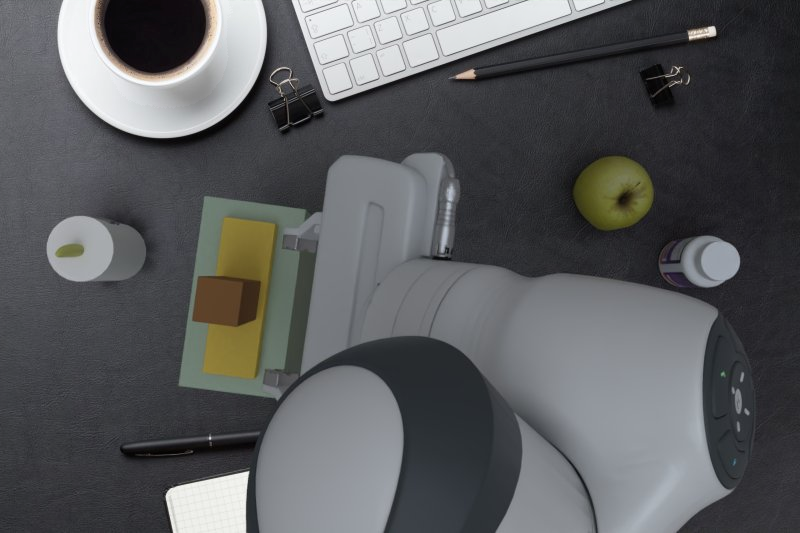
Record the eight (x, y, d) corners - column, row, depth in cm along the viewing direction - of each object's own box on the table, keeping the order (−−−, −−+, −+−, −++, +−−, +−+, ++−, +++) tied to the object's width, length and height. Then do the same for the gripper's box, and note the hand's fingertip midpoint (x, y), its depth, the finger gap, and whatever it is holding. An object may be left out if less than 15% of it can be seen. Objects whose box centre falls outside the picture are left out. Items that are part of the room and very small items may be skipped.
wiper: (257, 376, 59) (235, 396, 50) (206, 370, 59) (174, 388, 50) (278, 224, 60) (260, 215, 50) (227, 217, 59) (199, 206, 50)
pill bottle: (710, 279, 85) (754, 279, 75) (665, 292, 85) (702, 294, 75) (696, 232, 85) (738, 227, 75) (651, 246, 85) (687, 242, 75)
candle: (155, 233, 83) (107, 224, 68) (133, 289, 83) (80, 292, 68) (101, 212, 83) (41, 198, 68) (79, 268, 83) (14, 267, 68)
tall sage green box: (306, 363, 83) (280, 399, 59) (233, 354, 83) (178, 386, 59) (324, 228, 84) (306, 209, 60) (252, 218, 83) (204, 195, 59)
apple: (571, 146, 84) (625, 141, 74) (628, 173, 86) (686, 171, 77) (546, 213, 84) (597, 216, 74) (603, 238, 86) (659, 245, 77)
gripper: (426, 138, 39) (263, 144, 48) (372, 534, 39) (219, 463, 48) (497, 163, 44) (336, 164, 53) (450, 517, 43) (296, 455, 53)
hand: (280, 309), depth 51 cm, fingers open, 8 cm apart
